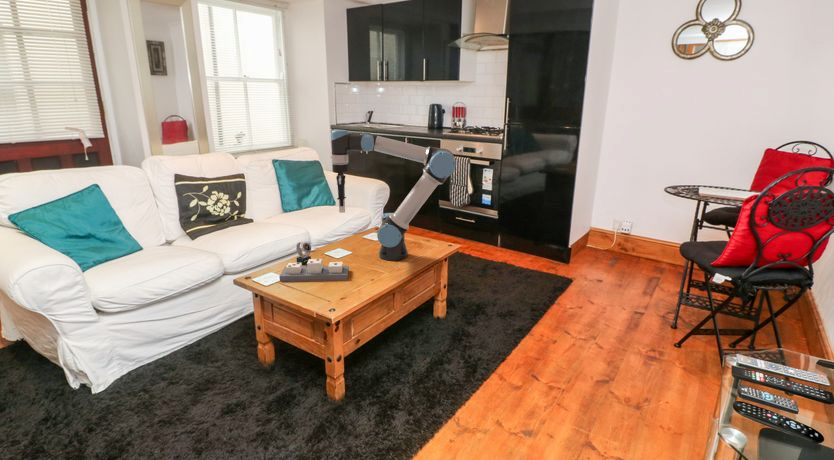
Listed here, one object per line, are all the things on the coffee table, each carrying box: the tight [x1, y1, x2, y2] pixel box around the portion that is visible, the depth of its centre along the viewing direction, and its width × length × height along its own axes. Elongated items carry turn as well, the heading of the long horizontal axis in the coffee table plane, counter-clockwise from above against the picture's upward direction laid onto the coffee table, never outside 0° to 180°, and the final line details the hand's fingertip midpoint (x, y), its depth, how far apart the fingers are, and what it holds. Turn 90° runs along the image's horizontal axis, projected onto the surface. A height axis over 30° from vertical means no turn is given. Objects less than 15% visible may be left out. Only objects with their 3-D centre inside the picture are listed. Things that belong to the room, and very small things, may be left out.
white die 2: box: [327, 261, 344, 273], centre depth 209 cm, size 6×6×5 cm
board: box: [279, 265, 350, 282], centre depth 209 cm, size 30×12×2 cm, turn 94°
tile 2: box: [306, 258, 323, 274], centre depth 208 cm, size 6×6×5 cm
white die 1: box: [285, 262, 303, 274], centre depth 208 cm, size 6×6×5 cm
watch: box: [295, 240, 312, 266], centre depth 225 cm, size 6×8×11 cm
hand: (342, 212), depth 218 cm, fingers closed
